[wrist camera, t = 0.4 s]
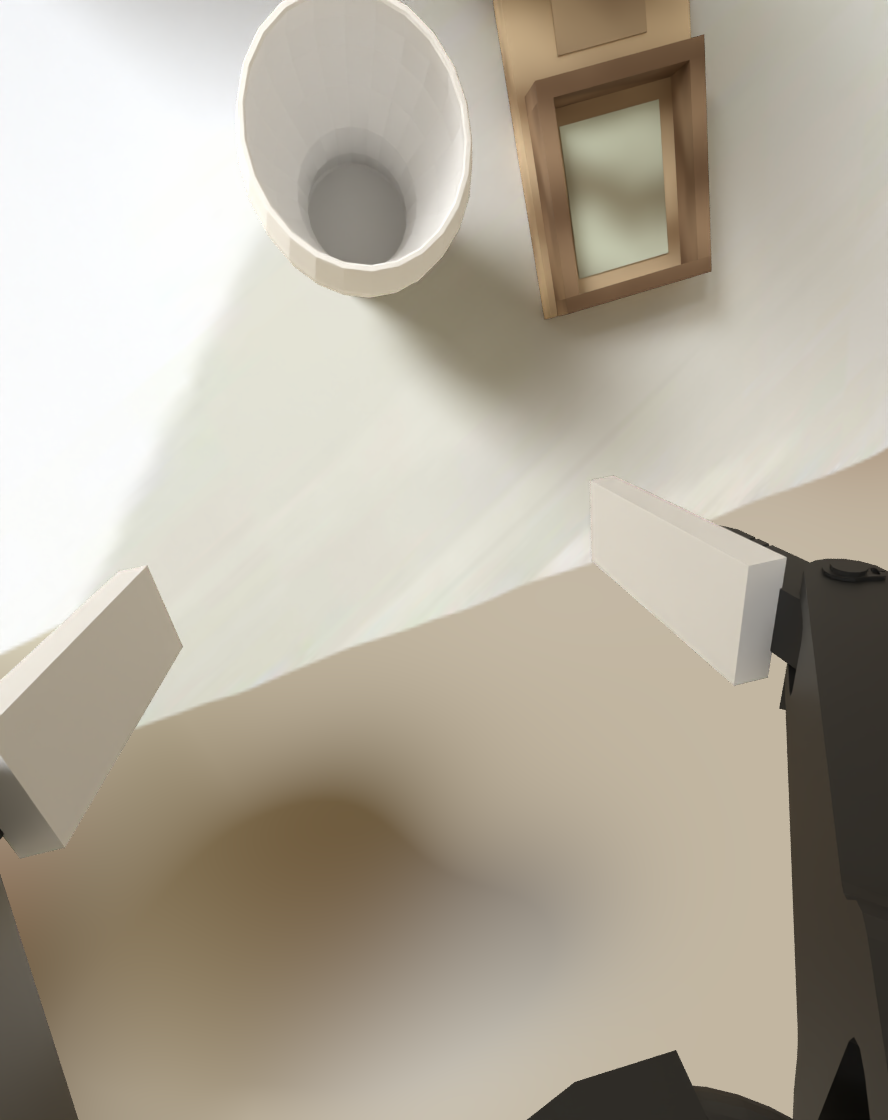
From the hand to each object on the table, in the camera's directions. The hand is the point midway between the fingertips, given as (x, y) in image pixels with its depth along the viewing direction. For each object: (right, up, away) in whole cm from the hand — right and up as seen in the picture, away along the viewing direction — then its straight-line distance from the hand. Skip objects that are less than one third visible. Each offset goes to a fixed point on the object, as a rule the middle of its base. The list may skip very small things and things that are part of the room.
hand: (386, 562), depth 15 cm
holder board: (+12, +31, +19) cm, 38 cm away
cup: (-4, +23, +19) cm, 30 cm away
